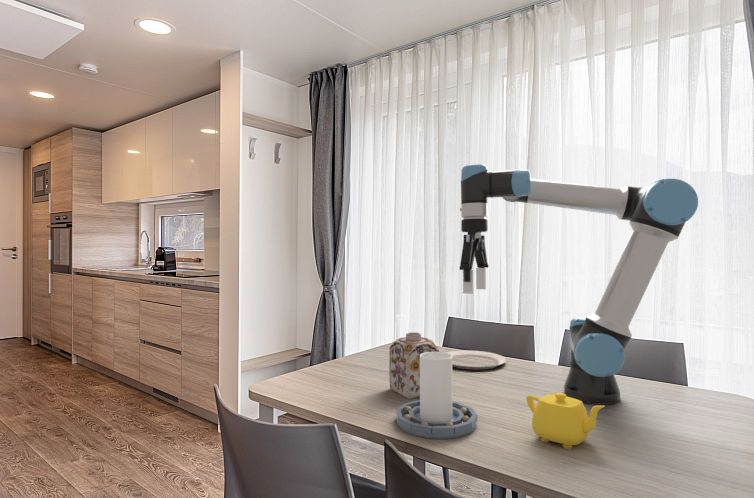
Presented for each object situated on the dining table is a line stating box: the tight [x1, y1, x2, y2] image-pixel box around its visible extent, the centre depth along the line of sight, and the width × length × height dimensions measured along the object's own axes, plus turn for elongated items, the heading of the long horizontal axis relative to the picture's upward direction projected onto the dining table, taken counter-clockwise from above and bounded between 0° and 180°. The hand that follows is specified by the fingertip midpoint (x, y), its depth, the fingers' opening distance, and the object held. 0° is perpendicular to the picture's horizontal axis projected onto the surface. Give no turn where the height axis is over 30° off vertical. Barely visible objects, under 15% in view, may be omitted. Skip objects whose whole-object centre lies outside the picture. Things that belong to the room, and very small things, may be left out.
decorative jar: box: [388, 332, 440, 400], centre depth 143 cm, size 12×12×18 cm
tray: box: [395, 399, 478, 440], centre depth 118 cm, size 20×20×3 cm
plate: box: [445, 349, 507, 371], centre depth 178 cm, size 26×26×2 cm
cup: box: [419, 351, 453, 422], centre depth 118 cm, size 8×8×16 cm
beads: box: [404, 406, 469, 426], centre depth 118 cm, size 17×17×2 cm
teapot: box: [526, 392, 606, 450], centre depth 107 cm, size 18×11×11 cm, turn 46°
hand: (474, 291), depth 135 cm, fingers open, 13 cm apart
